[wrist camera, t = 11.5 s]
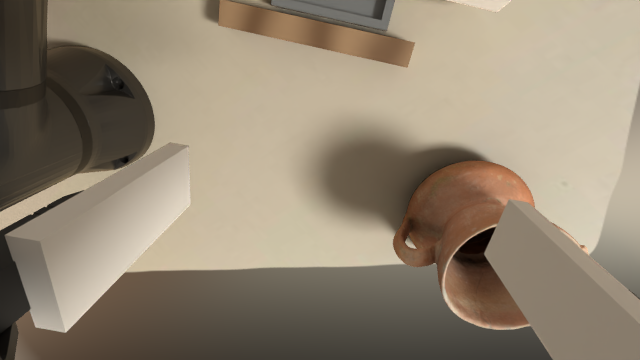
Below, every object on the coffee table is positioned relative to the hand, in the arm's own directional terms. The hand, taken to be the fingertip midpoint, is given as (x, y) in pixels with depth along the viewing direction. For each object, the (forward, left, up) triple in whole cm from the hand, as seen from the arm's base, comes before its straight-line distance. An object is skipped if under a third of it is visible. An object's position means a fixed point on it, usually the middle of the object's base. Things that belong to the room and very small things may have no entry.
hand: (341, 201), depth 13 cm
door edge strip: (-5, +6, -25) cm, 27 cm away
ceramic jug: (+17, -10, -26) cm, 32 cm away
